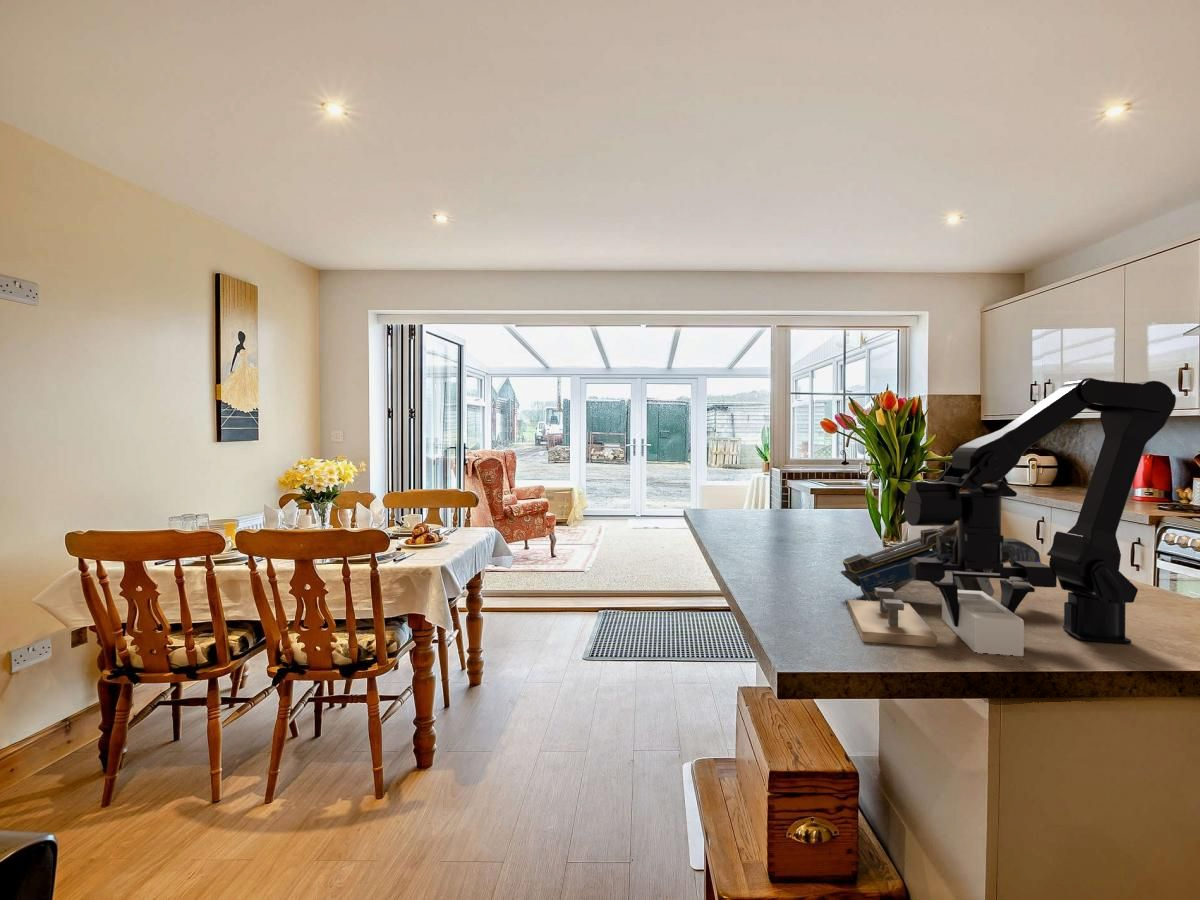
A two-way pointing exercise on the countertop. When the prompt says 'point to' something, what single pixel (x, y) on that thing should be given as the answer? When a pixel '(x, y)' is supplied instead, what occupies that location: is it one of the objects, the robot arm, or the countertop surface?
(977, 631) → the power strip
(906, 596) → the countertop surface
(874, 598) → the firearm
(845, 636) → the countertop surface
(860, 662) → the countertop surface
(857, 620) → the mounting board
